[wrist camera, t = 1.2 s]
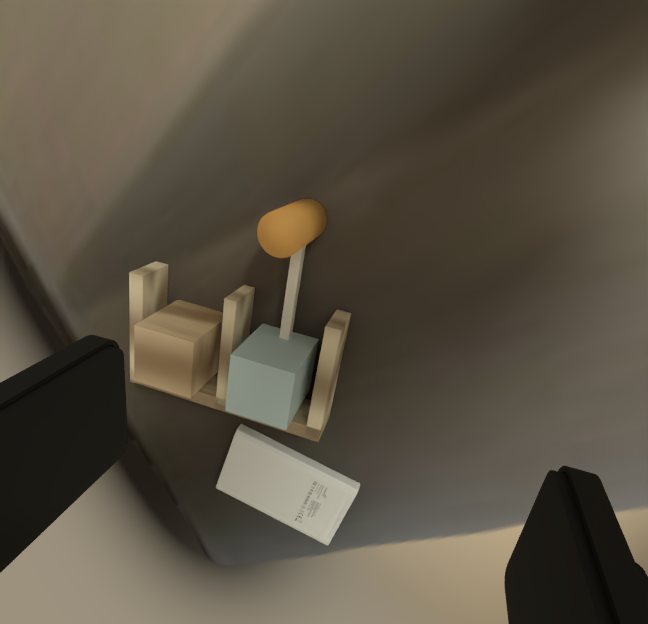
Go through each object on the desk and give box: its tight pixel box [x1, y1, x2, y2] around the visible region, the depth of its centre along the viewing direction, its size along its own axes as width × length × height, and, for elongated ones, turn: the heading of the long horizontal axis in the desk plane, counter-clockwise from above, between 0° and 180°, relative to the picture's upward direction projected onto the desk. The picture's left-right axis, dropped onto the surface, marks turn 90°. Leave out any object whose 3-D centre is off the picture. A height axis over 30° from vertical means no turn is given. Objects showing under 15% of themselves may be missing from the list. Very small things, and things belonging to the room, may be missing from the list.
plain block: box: [134, 300, 223, 399], centre depth 37 cm, size 5×5×6 cm
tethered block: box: [225, 198, 327, 430], centre depth 33 cm, size 16×5×6 cm, turn 170°
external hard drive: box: [216, 424, 360, 546], centre depth 43 cm, size 2×8×12 cm
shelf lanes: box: [129, 261, 351, 442], centre depth 37 cm, size 10×17×4 cm, turn 80°
